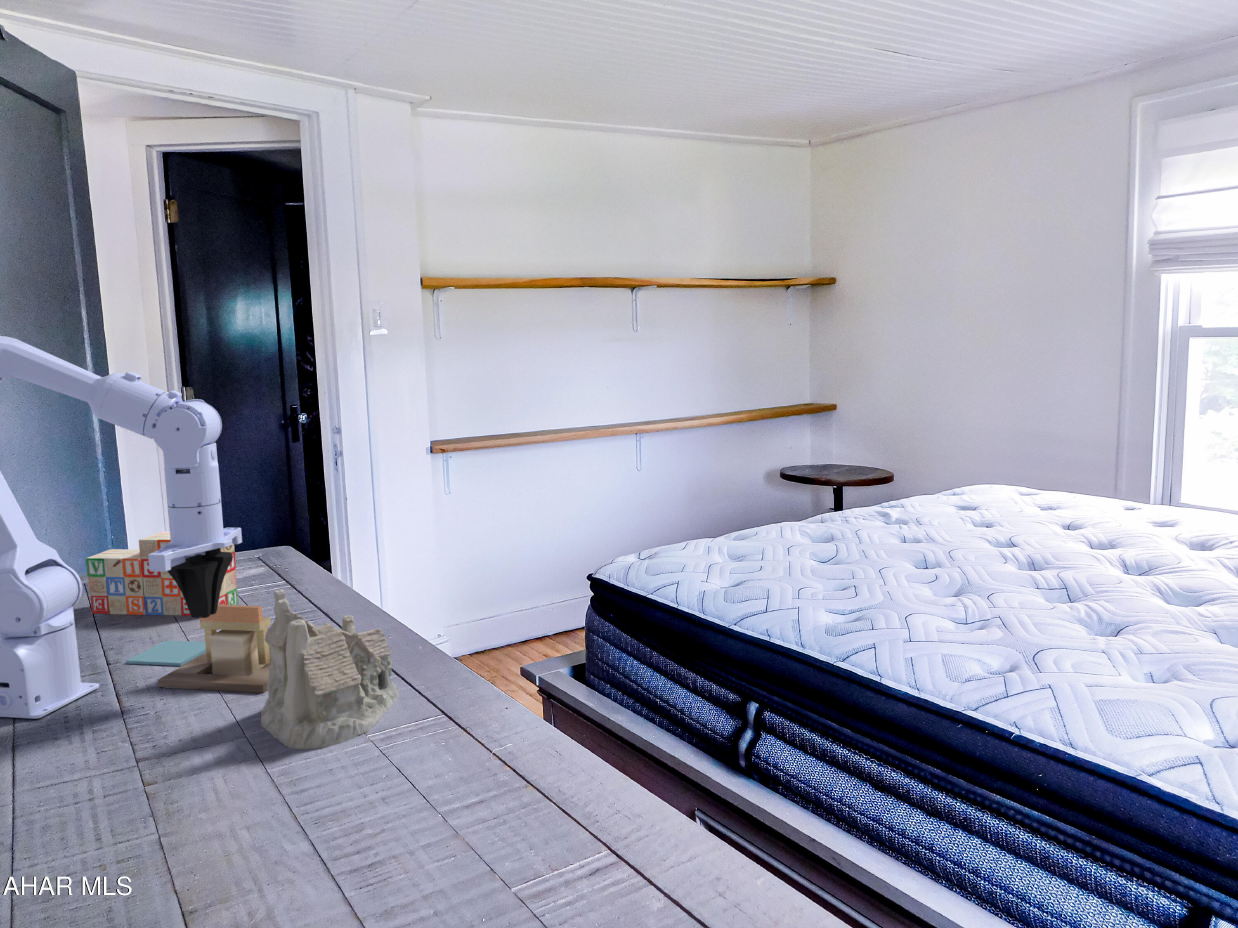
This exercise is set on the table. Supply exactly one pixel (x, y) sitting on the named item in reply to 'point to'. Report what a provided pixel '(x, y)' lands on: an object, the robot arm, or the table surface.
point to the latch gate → (238, 626)
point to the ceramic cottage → (324, 680)
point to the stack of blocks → (144, 582)
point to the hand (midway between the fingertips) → (203, 615)
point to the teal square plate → (170, 653)
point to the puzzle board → (214, 678)
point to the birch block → (234, 652)
